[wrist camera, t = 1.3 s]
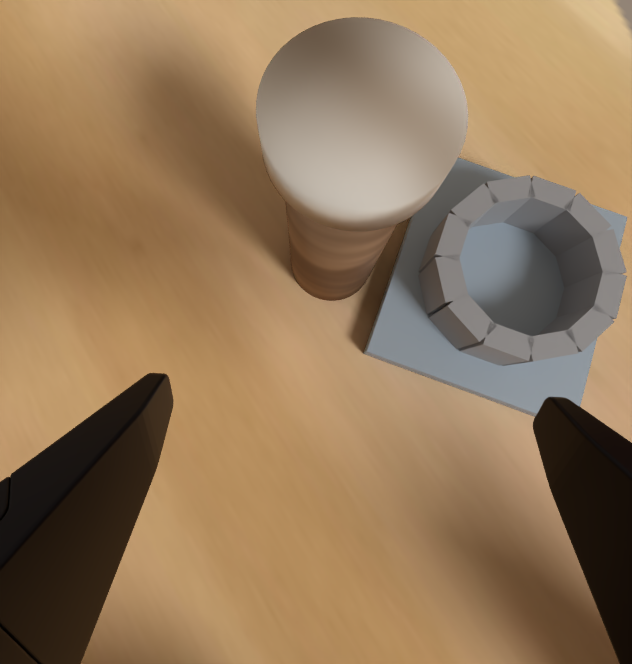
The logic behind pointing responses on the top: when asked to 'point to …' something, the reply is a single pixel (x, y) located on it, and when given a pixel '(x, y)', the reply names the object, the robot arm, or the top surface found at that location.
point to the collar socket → (502, 288)
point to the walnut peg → (356, 142)
